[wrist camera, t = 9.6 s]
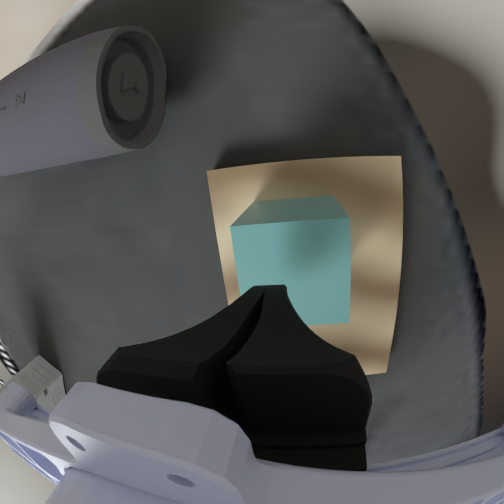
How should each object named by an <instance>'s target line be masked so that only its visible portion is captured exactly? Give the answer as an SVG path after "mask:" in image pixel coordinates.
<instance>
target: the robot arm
mask: <svg viewBox="0 0 504 504" xmlns="http://www.w3.org/2000/svg"><path fill="white" fill-rule="evenodd" d="M96 379H97V383H92V382H77V383H76V384H75V385H74V386H73V387H72V388H71V390H70V391H69V392H68V393H67V394H66V395H65V397H64V398H63V399H62V400H61V401H60V402H59V404H58V405H57V406H56V407H55V408H54V410H53V411H52V412H51V411H49V410H47V409H45V408H44V407H42V406H40V405H38V404H37V401H36V400H35V398H34V397H33V395H32V394H31V393H30V392H29V391H28V390H27V389H26V388H25V387H23V386H21V385H19V384H17V383H16V382H12V383H11V384H10V385H9V386H8V387H7V388H6V389H5V390H4V391H3V392H2V393H1V394H0V437H1V438H2V439H3V440H4V442H5V443H6V444H7V445H8V446H9V447H10V448H11V449H12V450H13V451H14V452H15V453H16V454H17V455H18V456H19V457H20V458H22V459H23V460H24V461H26V462H27V463H28V464H29V465H30V466H32V467H33V468H34V469H36V470H37V471H38V472H40V473H41V474H42V475H43V476H45V477H46V478H48V479H49V480H50V481H52V482H54V483H55V484H56V485H57V486H56V488H55V489H54V491H53V492H52V494H51V495H50V497H49V498H48V500H47V501H46V503H45V504H504V423H503V425H502V427H501V428H499V429H497V430H494V431H492V432H490V433H487V434H484V435H482V436H479V437H477V438H474V439H471V440H469V441H466V442H463V443H460V444H457V445H454V446H451V447H447V448H444V449H440V450H437V451H433V452H430V453H426V454H422V455H417V456H413V457H408V458H404V459H399V460H393V461H388V462H382V463H375V464H368V465H367V462H366V451H365V444H366V439H367V437H366V429H365V428H366V424H367V420H368V417H369V413H370V409H371V405H372V394H371V389H370V386H369V383H368V380H367V378H366V375H365V373H364V371H363V369H362V367H361V365H360V363H359V361H358V359H357V358H356V356H355V355H353V354H351V353H349V352H346V351H344V350H341V349H339V348H337V347H335V346H333V345H331V344H330V343H328V342H326V341H324V340H323V339H322V338H320V337H319V336H318V335H316V334H315V333H314V332H313V331H312V330H311V329H310V328H309V327H308V326H307V325H306V324H305V323H304V322H303V320H302V319H301V318H300V316H299V315H298V313H297V312H296V310H295V309H294V307H293V305H292V303H291V301H290V299H289V297H288V294H287V287H286V286H285V285H284V284H283V285H258V286H253V287H251V288H250V289H249V290H247V291H246V292H245V293H244V294H243V295H241V296H240V297H239V298H238V299H236V300H235V301H234V302H233V303H231V304H230V305H229V306H227V307H226V308H224V309H223V310H221V311H220V312H218V313H217V314H216V315H214V316H212V317H211V318H209V319H207V320H206V321H204V322H202V323H200V324H198V325H196V326H194V327H192V328H189V329H187V330H184V331H182V332H180V333H177V334H175V335H172V336H169V337H166V338H162V339H159V340H155V341H151V342H147V343H142V344H137V345H131V346H125V347H119V348H118V349H117V350H116V351H115V352H114V353H113V355H112V356H111V357H110V358H109V359H108V360H107V362H106V363H105V364H104V365H103V366H102V368H101V369H100V370H99V371H98V373H97V378H96Z"/></svg>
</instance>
